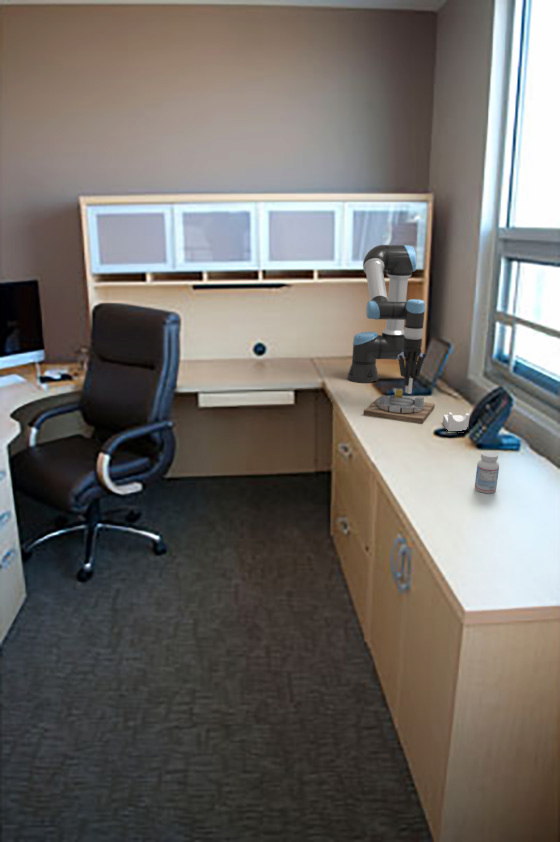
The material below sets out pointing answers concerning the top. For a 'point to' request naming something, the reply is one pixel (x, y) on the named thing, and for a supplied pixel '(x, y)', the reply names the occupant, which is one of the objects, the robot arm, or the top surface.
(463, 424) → the bracket
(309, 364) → the top surface
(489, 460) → the pill bottle
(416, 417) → the walnut base
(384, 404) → the grey block ring
